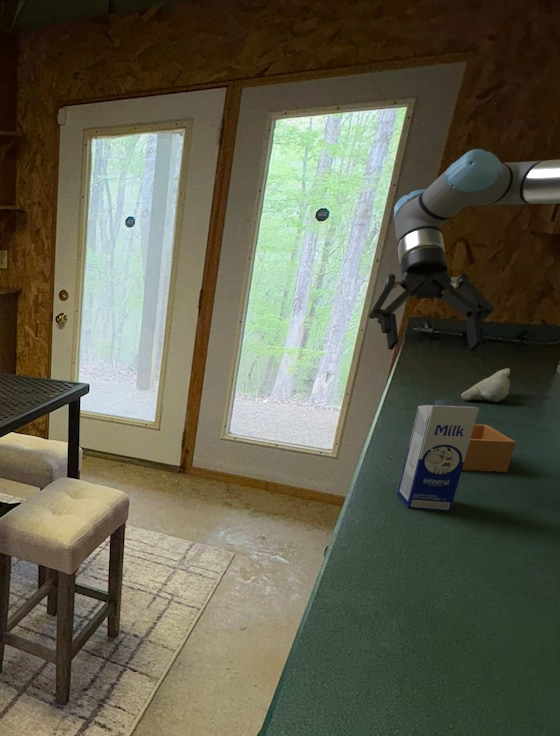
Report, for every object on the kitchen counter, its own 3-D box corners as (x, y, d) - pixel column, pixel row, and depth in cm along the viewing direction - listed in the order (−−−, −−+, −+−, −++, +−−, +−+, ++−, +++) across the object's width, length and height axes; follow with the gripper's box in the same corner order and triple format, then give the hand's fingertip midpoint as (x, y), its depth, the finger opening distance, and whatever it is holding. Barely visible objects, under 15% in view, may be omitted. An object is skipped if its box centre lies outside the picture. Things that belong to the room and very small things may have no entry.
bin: (478, 453, 143) (487, 424, 140) (506, 472, 132) (516, 441, 129) (415, 450, 146) (422, 422, 144) (437, 468, 135) (445, 438, 132)
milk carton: (406, 508, 117) (432, 404, 110) (395, 494, 123) (419, 395, 116) (451, 511, 115) (480, 406, 108) (438, 497, 121) (465, 397, 114)
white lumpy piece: (483, 414, 177) (540, 381, 171) (465, 393, 178) (521, 360, 173) (465, 416, 191) (517, 386, 185) (448, 397, 192) (500, 367, 187)
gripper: (484, 270, 127) (500, 358, 119) (346, 272, 133) (353, 356, 125) (505, 243, 120) (523, 334, 112) (359, 247, 126) (367, 333, 119)
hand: (434, 346), depth 119 cm, fingers open, 13 cm apart
